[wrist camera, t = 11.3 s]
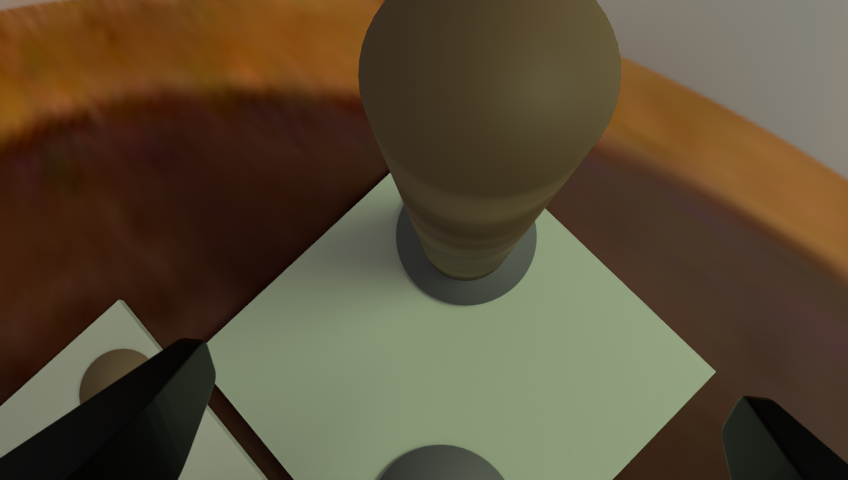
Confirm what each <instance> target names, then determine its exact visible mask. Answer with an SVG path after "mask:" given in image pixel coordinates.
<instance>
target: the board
mask: <svg viewBox="0 0 848 480" xmlns="http://www.w3.org/2000/svg"><path fill="white" fill-rule="evenodd" d="M207 345H208V348H209V351H210V354H211V357H212V361H213V364H214V367H215V371H216V380H215V384H216V385H217V386H218V387H219V389H220V390H221V391H222V392H223V394H224V395H225V396H226V397H227V398H228V400H229V401H230V402H231V403H232V405H233V406H234V407H235V408H236V409H237V411H238V412H239V413H240V414H241V416H242V417H243V418H244V419H245V420H246V422H247V423H248V424H249V425H250V427H251V428H252V429H253V430H254V431H255V433H256V434H257V435H258V436H259V438H260V439H261V440H262V441H263V442H264V444H265V445H266V446H267V447H268V449H269V450H270V451H271V452H272V453H273V455H274V456H275V457H276V458H277V460H278V461H279V462H280V463H281V464H282V466H283V467H284V468H285V469H286V471H287V472H288V473H289V474H290V475H291V477H292V478H293V479H294V480H612V479H613V478H614V477H615V476H616V475H617V474H618V473H619V472H620V471H621V470H622V469H623V468H624V467H625V466H626V465H627V464H628V463H629V462H630V461H631V460H632V459H633V457H634V456H635V455H636V454H637V453H638V452H639V451H640V450H641V449H642V448H643V447H644V446H645V445H646V444H647V443H648V442H649V441H650V440H651V439H652V438H653V437H654V436H655V435H656V434H657V432H658V431H659V430H660V429H661V428H662V427H663V426H664V425H665V424H666V423H667V422H668V421H669V420H670V419H671V418H672V417H673V416H674V415H675V414H676V413H677V412H678V411H679V410H680V409H681V408H682V406H683V405H684V404H685V403H686V402H687V401H688V400H689V399H690V398H691V397H692V396H693V395H694V394H695V393H696V392H697V391H698V390H699V389H700V388H701V387H702V386H703V385H704V384H705V383H706V381H707V380H708V379H709V378H710V377H711V376H712V375H713V374H714V373H715V371H714V370H713V369H712V368H711V367H710V366H709V365H708V364H707V363H706V362H705V361H704V360H703V359H702V358H701V357H700V356H699V355H698V354H697V353H696V352H695V351H694V350H692V349H691V348H690V347H689V346H688V345H687V344H686V343H685V342H684V341H683V340H682V339H681V338H680V337H679V336H678V335H677V334H676V333H675V332H674V331H673V330H672V329H670V328H669V327H668V326H667V325H666V324H665V323H664V322H663V321H662V320H661V319H660V318H659V317H658V316H657V315H656V314H655V313H654V312H653V311H652V310H651V309H650V308H649V307H647V306H646V305H645V304H644V303H643V302H642V301H641V300H640V299H639V298H638V297H637V296H636V295H635V294H634V293H633V292H632V291H631V290H630V289H629V288H628V287H627V286H625V285H624V284H623V283H622V282H621V281H620V280H619V279H618V278H617V277H616V276H615V275H614V274H613V273H612V272H611V271H610V270H609V269H608V268H607V267H606V266H605V265H604V264H602V263H601V262H600V261H599V260H598V259H597V258H596V257H595V256H594V255H593V254H592V253H591V252H590V251H589V250H588V249H587V248H586V247H585V246H584V245H583V244H582V243H580V242H579V241H578V240H577V239H576V238H575V237H574V236H573V235H572V234H571V233H570V232H569V231H568V230H567V229H566V228H565V227H564V226H563V225H562V224H561V223H560V222H559V221H557V220H556V219H555V218H554V217H553V216H552V215H551V214H550V213H549V212H548V211H547V210H546V209H544V210H543V211H542V213H541V214H540V215H539V217H538V218H537V219H536V220H535V222H534V223H533V224H532V226H531V227H530V228H529V229H528V231H527V232H526V233H525V235H524V236H523V237H522V238H521V240H520V241H519V242H518V243H517V245H516V246H515V247H514V249H513V250H512V251H511V252H510V254H509V255H508V256H507V258H506V259H505V260H504V261H503V263H502V264H501V265H500V266H499V267H498V268H497V269H496V270H495V271H494V272H492V273H491V274H489V275H488V276H486V277H483V278H481V279H477V280H471V281H461V280H455V279H452V278H449V277H447V276H445V275H443V274H442V273H440V272H439V271H437V270H436V269H435V268H434V267H433V266H432V265H431V263H430V262H429V261H428V259H427V257H426V255H425V253H424V251H423V248H422V246H421V244H420V241H419V239H418V237H417V234H416V232H415V229H414V227H413V225H412V222H411V220H410V218H409V215H408V213H407V211H406V208H405V206H404V203H403V201H402V199H401V196H400V194H399V192H398V189H397V187H396V185H395V182H394V180H393V177H392V175H391V173H389V174H388V175H387V176H386V177H385V178H384V179H383V180H382V181H381V182H380V183H379V184H378V185H377V186H375V187H374V188H373V189H372V190H371V191H370V192H369V193H368V194H367V195H366V196H365V197H364V198H363V199H361V200H360V201H359V202H358V203H357V204H356V205H355V206H354V207H353V208H352V209H351V210H350V211H349V212H347V213H346V214H345V215H344V216H343V217H342V218H341V219H340V220H339V221H338V222H337V223H336V224H334V225H333V226H332V227H331V228H330V229H329V230H328V231H327V232H326V233H325V234H324V235H323V236H322V237H320V238H319V239H318V240H317V241H316V242H315V243H314V244H313V245H312V246H311V247H310V248H309V249H308V250H306V251H305V252H304V253H303V254H302V255H301V256H300V257H299V258H298V259H297V260H296V261H295V262H294V263H292V264H291V265H290V266H289V267H288V268H287V269H286V270H285V271H284V272H283V273H282V274H281V275H280V276H278V277H277V278H276V279H275V280H274V281H273V282H272V283H271V284H270V285H269V286H268V287H267V288H266V289H264V290H263V291H262V292H261V293H260V294H259V295H258V296H257V297H256V298H255V299H254V300H253V301H251V302H250V303H249V304H248V305H247V306H246V307H245V308H244V309H243V310H242V311H241V312H240V313H239V314H237V315H236V316H235V317H234V318H233V319H232V320H231V321H230V322H229V323H228V324H227V325H226V326H225V327H223V328H222V329H221V330H220V331H219V332H218V333H217V334H216V335H215V336H214V337H213V338H212V339H211V340H209V341H208V342H207Z"/></svg>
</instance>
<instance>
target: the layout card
mask: <svg viewBox="0 0 848 480" xmlns="http://www.w3.org/2000/svg"><path fill="white" fill-rule="evenodd" d="M162 350H163V349H162V348H161V347H160V345H159V344H158V343H157V342H156V340H155V339H154V338H153V337H152V335H151V334H150V333H149V332H148V331H147V329H146V328H145V327H144V326H143V324H142V323H141V322H140V321H139V319H138V318H137V317H136V316H135V314H134V313H133V312H132V311H131V309H130V308H129V307H128V306H127V305H126V303H125V302H124V301H123V300H118V301H117V302H116V303H115V304H113V305H112V306H111V307H110V308H109V309H108V310H107V311H106V312H105V313H103V314H102V315H101V316H100V317H99V318H98V319H97V320H96V321H95V322H93V323H92V324H91V325H90V326H89V327H88V328H87V329H86V330H85V331H84V332H82V333H81V334H80V335H79V336H78V337H77V338H76V339H75V340H74V341H72V342H71V343H70V344H69V345H68V346H67V347H66V348H65V349H64V350H62V351H61V352H60V353H59V354H58V355H57V356H56V357H55V358H54V359H52V360H51V361H50V362H49V363H48V364H47V365H46V366H45V367H44V368H43V369H41V370H40V371H39V372H38V373H37V374H36V375H35V376H34V377H33V378H31V379H30V380H29V381H28V382H27V383H26V384H25V385H24V386H23V387H21V388H20V389H19V390H18V391H17V392H16V393H15V394H14V395H13V396H12V397H10V398H9V399H8V400H7V401H6V402H5V403H4V404H3V405H2V406H0V458H1V457H2V456H4V455H5V454H7V453H8V452H10V451H11V450H13V449H14V448H16V447H17V446H19V445H20V444H22V443H23V442H25V441H26V440H28V439H29V438H31V437H32V436H34V435H35V434H37V433H38V432H40V431H41V430H43V429H44V428H46V427H47V426H49V425H50V424H52V423H53V422H55V421H56V420H58V419H59V418H61V417H62V416H64V415H65V414H67V413H68V412H70V411H71V410H73V409H74V408H76V407H77V406H79V405H80V404H82V403H83V402H85V401H86V400H88V399H89V398H91V397H92V396H94V395H96V394H97V393H99V392H100V391H102V390H103V389H105V388H106V387H108V386H109V385H111V384H112V383H114V382H115V381H117V380H118V379H120V378H121V377H123V376H124V375H126V374H127V373H129V372H130V371H132V370H133V369H135V368H136V367H138V366H139V365H141V364H142V363H144V362H145V361H147V360H148V359H150V358H151V357H153V356H154V355H156V354H157V353H159V352H160V351H162ZM178 480H268V479H267V478H266V477H265V475H264V474H263V473H262V472H261V470H260V469H259V468H258V467H257V465H256V464H255V463H254V462H253V460H252V459H251V458H250V457H249V456H248V454H247V453H246V452H245V451H244V449H243V448H242V447H241V446H240V444H239V443H238V442H237V441H236V439H235V438H234V437H233V436H232V434H231V433H230V432H229V431H228V430H227V428H226V427H225V426H224V425H223V423H222V422H221V421H220V420H219V418H218V417H217V416H216V415H215V413H214V412H213V411H212V410H211V408H210V407H209V406H208V405H207V406H206V409H205V412H204V415H203V417H202V420H201V423H200V426H199V428H198V431H197V434H196V437H195V439H194V442H193V445H192V447H191V450H190V453H189V455H188V458H187V460H186V463H185V466H184V468H183V470H182V472H181V474H180V477H179V479H178Z"/></svg>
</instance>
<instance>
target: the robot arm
mask: <svg viewBox="0 0 848 480" xmlns="http://www.w3.org/2000/svg"><path fill="white" fill-rule="evenodd" d="M215 380H216V371H215V367H214V364H213V361H212V357H211V354H210V351H209V348H208V345H207V343H206V342H205V341H204V340H199V339H189V338H182V339H179V340H177V341H175V342H174V343H172V344H171V345H169V346H168V347H166V348H165V349H163V350H162V351H160V352H159V353H157V354H156V355H154V356H153V357H151V358H150V359H148V360H147V361H145V362H144V363H142V364H141V365H139V366H138V367H136V368H135V369H133V370H132V371H130V372H129V373H127V374H126V375H124V376H123V377H121V378H120V379H118V380H117V381H115V382H114V383H112V384H111V385H109V386H108V387H106V388H105V389H103V390H102V391H100V392H99V393H97V394H96V395H94V396H92V397H91V398H89V399H88V400H86V401H85V402H83V403H82V404H80V405H79V406H77V407H76V408H74V409H73V410H71V411H70V412H68V413H67V414H65V415H64V416H62V417H61V418H59V419H58V420H56V421H55V422H53V423H52V424H50V425H49V426H47V427H46V428H44V429H43V430H41V431H40V432H38V433H37V434H35V435H34V436H32V437H31V438H29V439H28V440H26V441H25V442H23V443H22V444H20V445H19V446H17V447H16V448H14V449H13V450H11V451H10V452H8V453H7V454H5V455H4V456H2V457H1V458H0V480H178V479H179V477H180V474H181V472H182V470H183V468H184V466H185V463H186V460H187V458H188V455H189V453H190V450H191V447H192V445H193V442H194V439H195V437H196V434H197V431H198V428H199V426H200V423H201V420H202V417H203V415H204V412H205V409H206V406H207V404H208V401H209V398H210V395H211V393H212V390H213V387H214V384H215ZM722 442H723V447H724V451H725V455H726V460H727V464H728V469H729V473H730V477H731V480H848V464H847V463H846V462H845V461H844V460H843V459H841V458H840V457H839V456H838V455H837V454H836V453H834V452H833V451H832V450H831V449H830V448H829V447H827V446H826V445H825V444H824V443H823V442H822V441H820V440H819V439H818V438H817V437H816V436H815V435H813V434H812V433H811V432H810V431H809V430H808V429H806V428H805V427H804V426H803V425H802V424H801V423H799V422H798V421H797V420H796V419H795V418H794V417H792V416H791V415H790V414H789V413H788V412H787V411H785V410H784V409H783V408H782V407H781V406H780V405H779V404H777V403H776V402H775V401H773V400H771V399H769V398H764V397H754V396H743V397H741V398H740V399H739V400H738V401H737V403H736V405H735V406H734V408H733V410H732V411H731V413H730V415H729V417H728V418H727V420H726V422H725V423H724V425H723V429H722Z"/></svg>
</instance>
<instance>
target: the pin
mask: <svg viewBox="0 0 848 480" xmlns="http://www.w3.org/2000/svg"><path fill="white" fill-rule="evenodd" d="M358 76H359V89H360V95H361V99H362V104H363V107H364V110H365V113H366V115H367V118H368V121H369V123H370V125H371V128H372V130H373V133H374V135H375V137H376V140H377V142H378V144H379V147H380V149H381V151H382V154H383V156H384V159H385V161H386V163H387V166H388V168H389V170H390V173H391V175H392V177H393V180H394V182H395V185H396V187H397V189H398V192H399V194H400V196H401V199H402V201H403V203H404V206H405V208H406V211H407V213H408V215H409V218H410V220H411V222H412V225H413V227H414V229H415V232H416V234H417V237H418V239H419V241H420V244H421V246H422V248H423V251H424V253H425V255H426V257H427V259H428V261H429V262H430V263H431V265H432V266H433V267H434V268H435V269H436V270H437V271H439V272H440V273H442V274H443V275H445V276H447V277H449V278H452V279H455V280H461V281H471V280H477V279H481V278H483V277H486V276H488V275H489V274H491V273H492V272H494V271H495V270H496V269H497V268H498V267H499V266H500V265H501V264H502V263H503V261H504V260H505V259H506V258H507V256H508V255H509V254H510V252H511V251H512V250H513V249H514V247H515V246H516V245H517V243H518V242H519V241H520V240H521V238H522V237H523V236H524V235H525V233H526V232H527V231H528V229H529V228H530V227H531V226H532V224H533V223H534V222H535V220H536V219H537V218H538V217H539V215H540V214H541V213H542V211H543V210H544V209H545V208H546V206H547V205H548V204H549V202H550V201H551V200H552V199H553V197H554V196H555V195H556V194H557V192H558V191H559V190H560V188H561V187H562V186H563V185H564V183H565V182H566V181H567V179H568V178H569V177H570V176H571V174H572V173H573V172H574V170H575V169H576V168H577V167H578V165H579V164H580V163H581V161H582V160H583V159H584V158H585V156H586V155H587V154H588V153H589V151H590V150H591V149H592V147H593V146H594V145H595V144H596V142H597V141H598V140H599V138H600V137H601V135H602V134H603V132H604V130H605V129H606V127H607V125H608V124H609V121H610V119H611V117H612V114H613V112H614V109H615V106H616V103H617V99H618V95H619V90H620V80H621V61H620V54H619V49H618V44H617V41H616V38H615V34H614V31H613V29H612V27H611V25H610V22H609V20H608V18H607V17H606V14H605V13H604V11H603V10H602V9H601V7H600V6H599V4H598V3H597V1H596V0H385V2H384V3H383V4H382V6H381V7H380V9H379V10H378V12H377V13H376V14H375V16H374V18H373V20H372V22H371V24H370V26H369V28H368V30H367V33H366V36H365V39H364V41H363V44H362V49H361V54H360V59H359V75H358Z"/></svg>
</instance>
